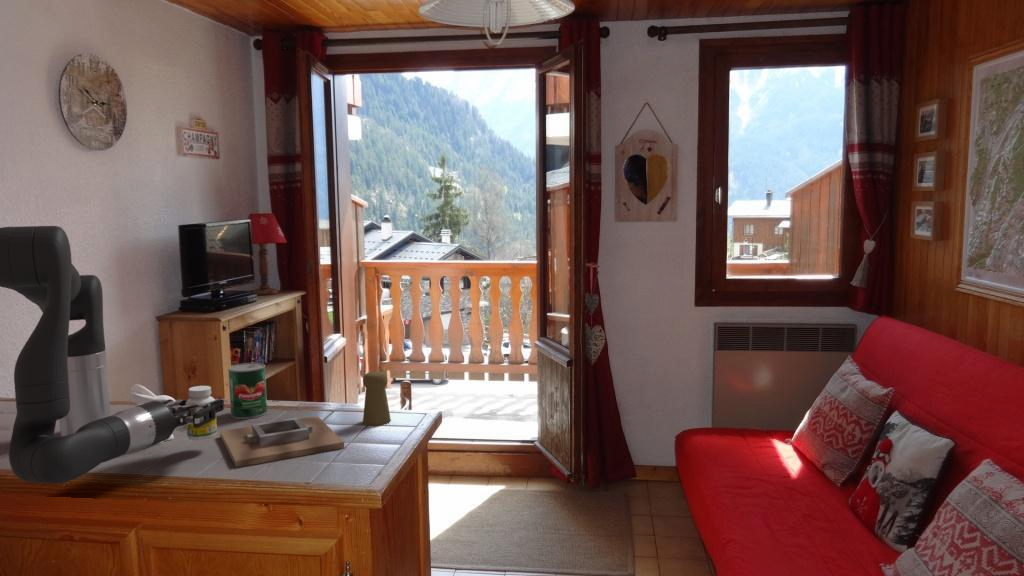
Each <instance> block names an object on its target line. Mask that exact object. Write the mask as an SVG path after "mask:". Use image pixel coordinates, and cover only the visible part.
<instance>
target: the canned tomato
mask: <svg viewBox="0 0 1024 576" xmlns="http://www.w3.org/2000/svg"><path fill="white" fill-rule="evenodd" d="M227 369H228V384H229V387H228V389H229V401H230V403H229V405H230V417H231V418H232V417H234V418H233V419H235V418H237V420H249V419H250V418H251V419H256V418H260V417H263V416H265V415H267V414H268V400H267V379H266V365H265V364H264V363H260V362H245V363H244V362H243V363H237V364H233V365H230V366H229V367H228V368H227Z"/></svg>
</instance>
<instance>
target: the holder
mask: <svg viewBox="0 0 1024 576" xmlns="http://www.w3.org/2000/svg"><path fill="white" fill-rule="evenodd" d="M219 433H220V435H219V436H220V439H221V441H222V442H223V445H224V446H225V448H226V450H227V452H228V455H229V457H230V459H231V460H232V462H233V464H234V466H235V468H241V467H247V466H251V465H252V466H253V465H258V464H263V463H268V462H275V461H280V460H285V459H291V458H297V457H302V456H307V455H314V454H320V453H323V452H329V451H330V452H331V451H335V450H341V449H345V441H344V440H342V439H341V438H340V436H338V434H337V433H335V431H334V430H332V429H331V428H330V426H328V425H327V423H326V422H325V421H324V420H323V419H321V418H320V416H319V415H315V416H311V417H309V416H308V417H304V418H299V417H291V418H285V419H279V420H278V419H277V420H272V421H266V422H260V423H252V424H251V426H244V427H239V428H238V427H237V428H234V429H233V428H232V429H226V430H220V432H219Z"/></svg>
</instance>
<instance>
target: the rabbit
mask: <svg viewBox="0 0 1024 576" xmlns="http://www.w3.org/2000/svg"><path fill="white" fill-rule="evenodd" d="M130 389H131V391H132V392H129V393H128V394H127V398H128V400H129V401H130V402H132V403H134V404H137V405H136V406H138V405H141V404H144V403H148V402H151V401H159V402H162V401H166V400H169V399H171V400H173V401H176V400H177V399H175V398H173V397H172V396H169V395H165V394H162V395H156V394H154V393H153V392H152V391H150V390H149V388H146V387H145V386H144V385H142V384H133V385H132V386H131V388H130ZM174 438H175V437H174V434H172V435H171V436H170V437H169V438H168V439H167V440H165V441H162V442H160V443H157V444H156V445H160V444H162V443H163V442H167V441H172V440H173V439H174Z"/></svg>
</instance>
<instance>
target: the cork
mask: <svg viewBox="0 0 1024 576" xmlns="http://www.w3.org/2000/svg"><path fill="white" fill-rule="evenodd" d="M388 380H389V379H388V375H387V374H386V373H385V372H383V371H369V372H366V373H365V374H364V375H363V378H362V383H363V386H364V387H365V394H364V405H363V407H364V408H363V416H362V424H363V425H365V426H367V425H368V426H367V427H378V426H379V425H381V426H385V425H387V423H388V424H390V423H391V422H392V420H391V413H390V407H389V402H388V401H389V400H388V397H387V390H386V386H387V385H388V382H389V381H388ZM390 421H391V422H390ZM389 422H390V423H389ZM384 424H385V425H384Z"/></svg>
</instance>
